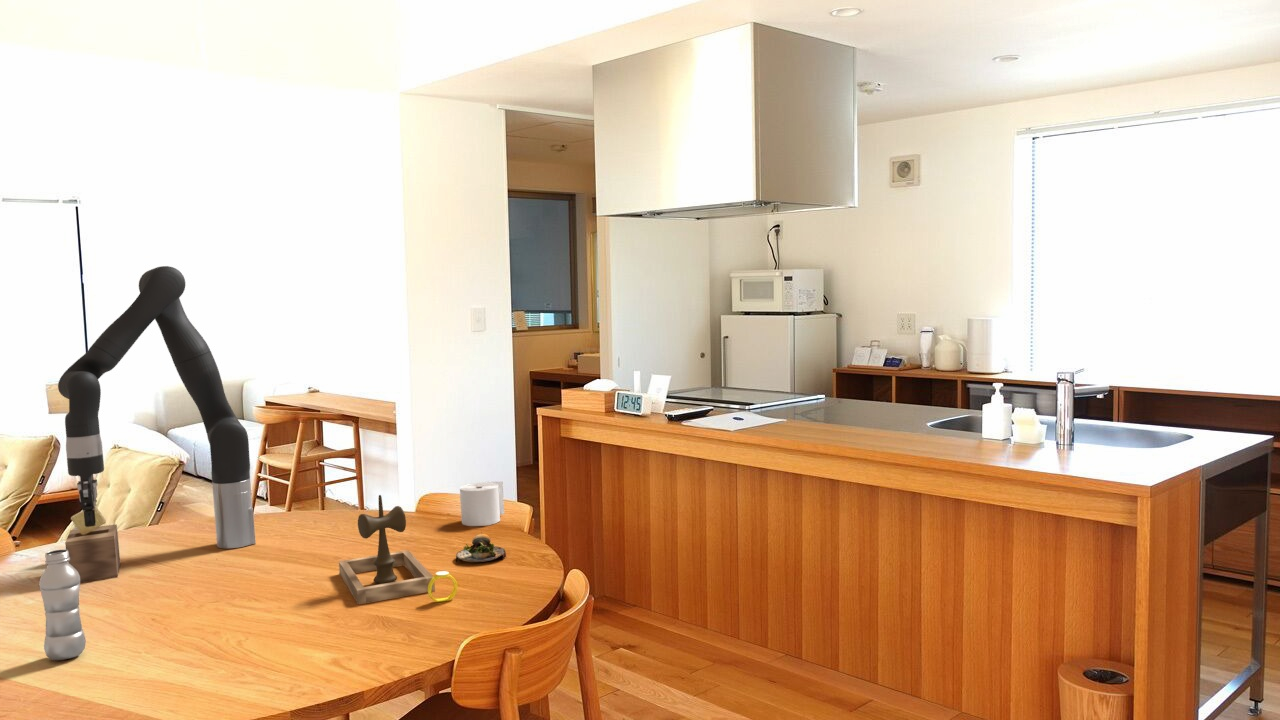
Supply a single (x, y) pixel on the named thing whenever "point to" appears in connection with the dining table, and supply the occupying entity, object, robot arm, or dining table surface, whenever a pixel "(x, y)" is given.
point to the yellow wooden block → (80, 522)
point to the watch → (442, 575)
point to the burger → (480, 550)
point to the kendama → (383, 538)
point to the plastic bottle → (61, 607)
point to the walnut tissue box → (94, 553)
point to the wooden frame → (388, 589)
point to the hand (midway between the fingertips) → (90, 524)
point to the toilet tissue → (481, 503)
